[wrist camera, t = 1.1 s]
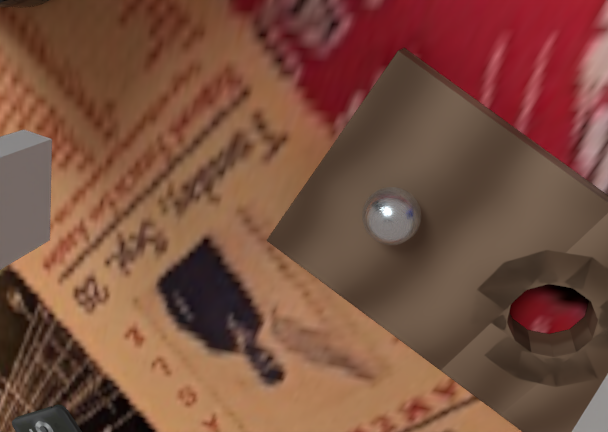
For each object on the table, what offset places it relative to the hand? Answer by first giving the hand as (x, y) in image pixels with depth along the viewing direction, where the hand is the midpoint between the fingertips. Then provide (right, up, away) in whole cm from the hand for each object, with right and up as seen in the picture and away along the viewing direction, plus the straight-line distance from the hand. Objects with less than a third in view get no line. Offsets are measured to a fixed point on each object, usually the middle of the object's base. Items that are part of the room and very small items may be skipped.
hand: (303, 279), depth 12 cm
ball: (+5, +1, +18) cm, 18 cm away
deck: (+11, -1, +21) cm, 24 cm away
